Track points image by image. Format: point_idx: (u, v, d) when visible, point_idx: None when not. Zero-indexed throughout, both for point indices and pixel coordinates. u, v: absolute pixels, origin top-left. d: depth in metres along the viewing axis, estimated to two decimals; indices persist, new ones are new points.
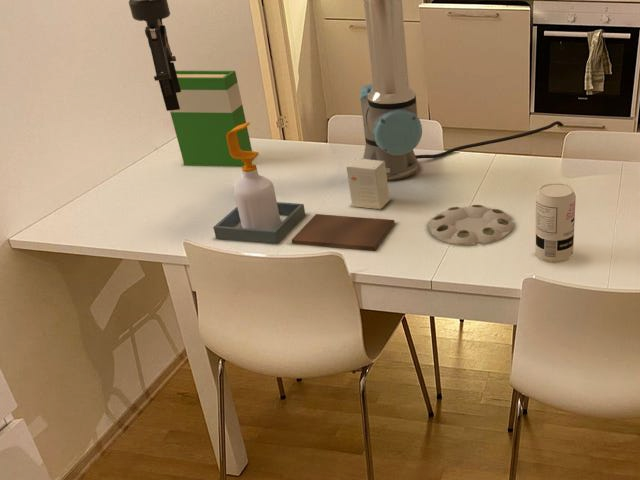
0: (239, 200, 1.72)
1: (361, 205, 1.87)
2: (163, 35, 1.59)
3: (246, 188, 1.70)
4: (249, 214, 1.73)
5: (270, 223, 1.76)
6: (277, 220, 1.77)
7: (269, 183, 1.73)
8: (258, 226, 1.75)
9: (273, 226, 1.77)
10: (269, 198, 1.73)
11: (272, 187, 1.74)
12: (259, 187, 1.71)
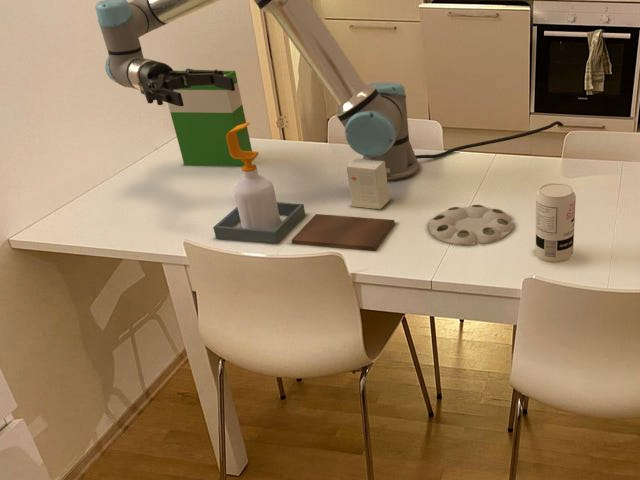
0: (239, 200, 1.72)
1: (361, 205, 1.87)
2: None
3: (246, 188, 1.70)
4: (249, 214, 1.73)
5: (270, 223, 1.76)
6: (277, 220, 1.77)
7: (269, 183, 1.73)
8: (258, 226, 1.75)
9: (273, 226, 1.77)
10: (269, 198, 1.73)
11: (272, 187, 1.74)
12: (259, 187, 1.71)
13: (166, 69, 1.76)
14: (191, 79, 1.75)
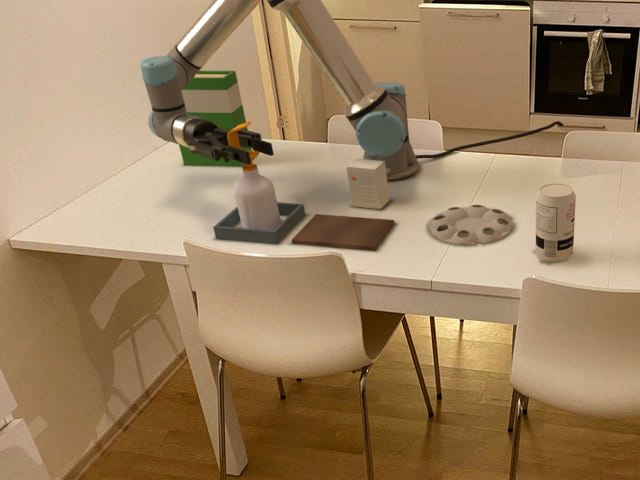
0: (239, 199, 1.72)
1: (361, 205, 1.87)
2: (207, 136, 1.72)
3: (246, 187, 1.70)
4: (249, 213, 1.73)
5: (270, 223, 1.76)
6: (277, 220, 1.77)
7: (269, 183, 1.73)
8: (258, 225, 1.75)
9: (273, 226, 1.77)
10: (269, 198, 1.73)
11: (272, 187, 1.74)
12: (259, 187, 1.71)
13: (211, 127, 1.76)
14: None
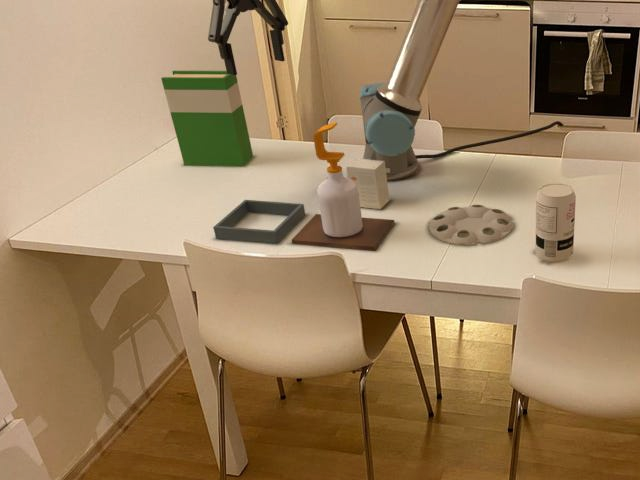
0: (323, 202, 1.67)
1: (361, 205, 1.87)
2: (238, 2, 1.62)
3: (331, 190, 1.65)
4: (333, 216, 1.68)
5: (353, 226, 1.71)
6: (360, 223, 1.73)
7: (354, 185, 1.68)
8: (341, 229, 1.70)
9: (356, 229, 1.72)
10: (354, 200, 1.68)
11: (356, 189, 1.69)
12: (345, 189, 1.66)
13: None
14: (259, 11, 1.68)
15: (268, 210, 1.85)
